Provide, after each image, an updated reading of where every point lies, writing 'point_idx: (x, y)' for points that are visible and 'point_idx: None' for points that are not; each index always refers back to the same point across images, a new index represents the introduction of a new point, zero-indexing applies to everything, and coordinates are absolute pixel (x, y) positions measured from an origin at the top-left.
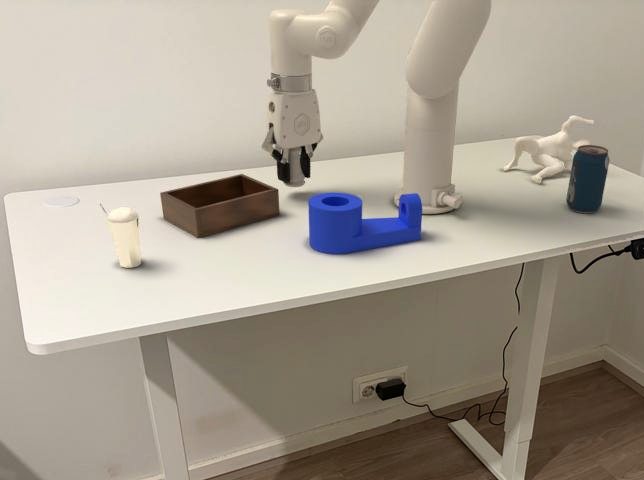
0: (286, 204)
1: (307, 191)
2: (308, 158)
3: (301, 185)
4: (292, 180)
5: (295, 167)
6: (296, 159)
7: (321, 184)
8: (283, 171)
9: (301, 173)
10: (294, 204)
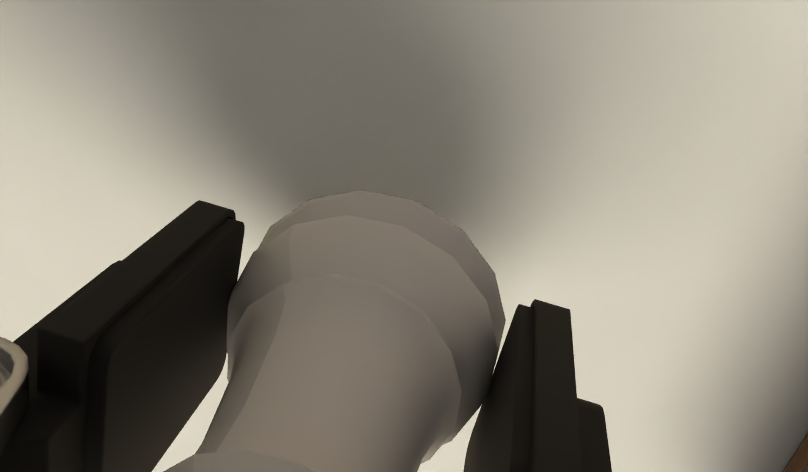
0: (682, 161)
1: (240, 206)
2: (63, 349)
3: (383, 200)
4: (478, 295)
5: (369, 384)
6: (311, 465)
7: (15, 207)
8: (582, 451)
9: (314, 278)
10: (636, 92)
